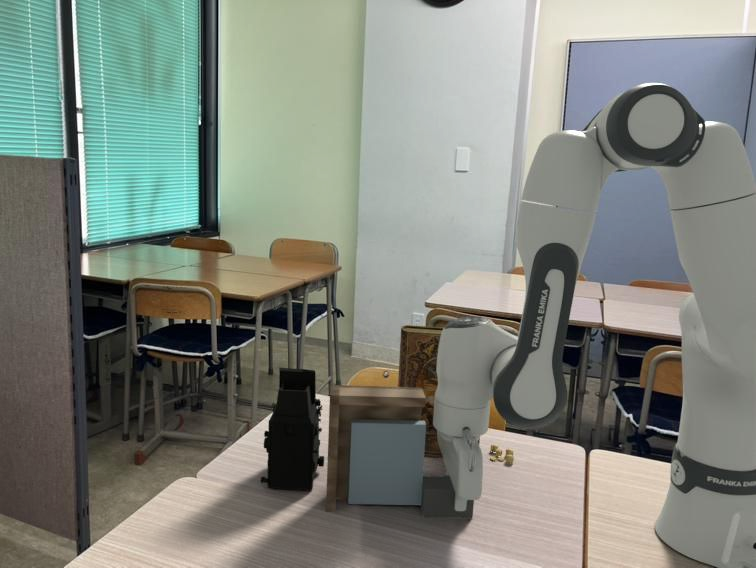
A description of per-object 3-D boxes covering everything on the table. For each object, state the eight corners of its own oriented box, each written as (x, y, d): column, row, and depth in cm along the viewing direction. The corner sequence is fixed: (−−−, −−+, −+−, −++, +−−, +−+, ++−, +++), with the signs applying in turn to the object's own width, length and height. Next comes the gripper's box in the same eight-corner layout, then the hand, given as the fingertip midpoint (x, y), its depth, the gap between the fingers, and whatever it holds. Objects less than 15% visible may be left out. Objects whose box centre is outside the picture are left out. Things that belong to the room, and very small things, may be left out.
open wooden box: (415, 497, 102) (421, 387, 99) (418, 512, 97) (425, 397, 94) (327, 495, 101) (330, 385, 98) (325, 511, 97) (329, 395, 93)
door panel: (420, 500, 100) (424, 420, 98) (421, 505, 99) (426, 424, 97) (348, 498, 100) (351, 418, 98) (348, 503, 98) (351, 422, 96)
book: (393, 455, 118) (400, 331, 114) (395, 443, 123) (402, 324, 119) (478, 462, 116) (487, 337, 112) (476, 450, 122) (485, 330, 118)
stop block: (467, 504, 101) (469, 476, 100) (472, 519, 96) (474, 490, 96) (419, 503, 100) (421, 475, 100) (423, 518, 96) (424, 489, 95)
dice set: (490, 452, 122) (491, 443, 122) (516, 457, 121) (517, 448, 120) (485, 462, 118) (486, 453, 117) (512, 468, 116) (513, 459, 116)
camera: (327, 458, 115) (330, 357, 112) (317, 494, 102) (321, 380, 98) (275, 455, 115) (277, 354, 112) (259, 491, 102) (261, 377, 99)
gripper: (496, 444, 86) (489, 533, 88) (468, 395, 106) (462, 468, 108) (452, 443, 85) (446, 532, 88) (432, 394, 106) (428, 467, 108)
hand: (455, 496), depth 98 cm, fingers open, 6 cm apart
